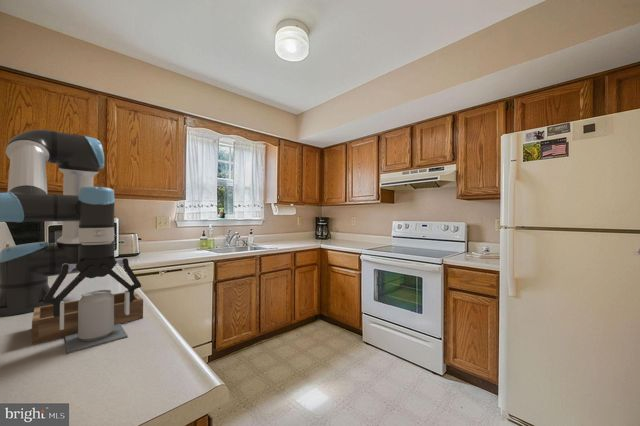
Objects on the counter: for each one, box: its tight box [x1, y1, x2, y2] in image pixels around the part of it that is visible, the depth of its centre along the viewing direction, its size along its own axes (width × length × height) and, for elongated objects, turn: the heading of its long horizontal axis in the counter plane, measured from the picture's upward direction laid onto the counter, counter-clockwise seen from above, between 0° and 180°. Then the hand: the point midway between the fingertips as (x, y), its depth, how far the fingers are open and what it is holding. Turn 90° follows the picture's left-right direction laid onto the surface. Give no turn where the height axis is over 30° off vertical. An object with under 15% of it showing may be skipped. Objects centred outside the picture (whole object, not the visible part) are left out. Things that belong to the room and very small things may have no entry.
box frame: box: [31, 291, 144, 345], centre depth 82 cm, size 14×24×6 cm, turn 136°
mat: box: [64, 323, 129, 355], centre depth 72 cm, size 12×12×1 cm
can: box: [78, 289, 114, 341], centre depth 72 cm, size 8×8×12 cm
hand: (96, 320), depth 72 cm, fingers open, 13 cm apart
